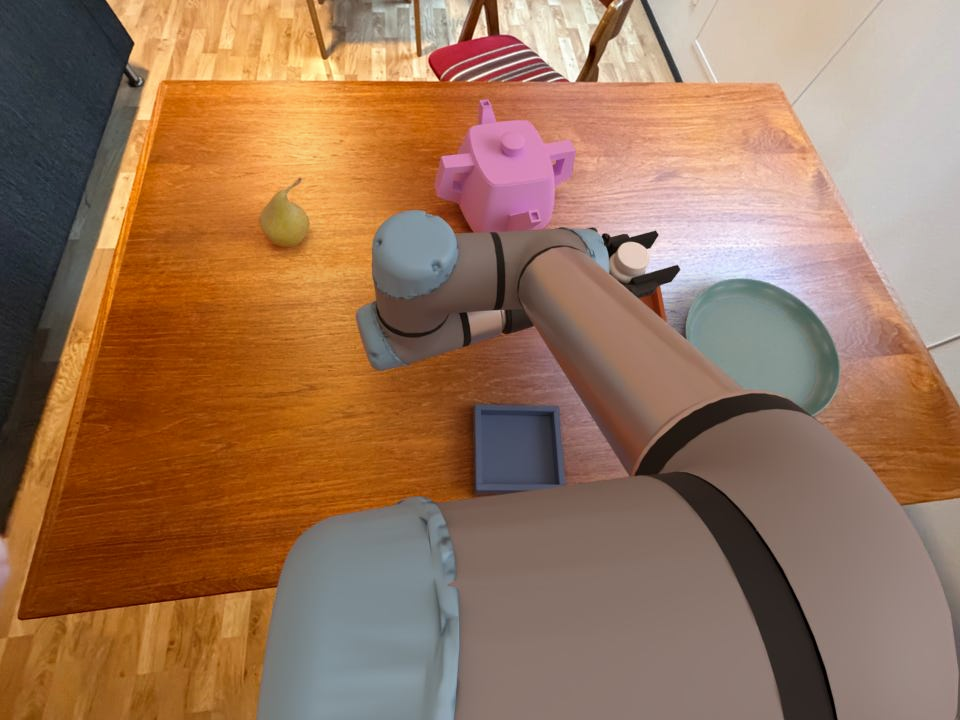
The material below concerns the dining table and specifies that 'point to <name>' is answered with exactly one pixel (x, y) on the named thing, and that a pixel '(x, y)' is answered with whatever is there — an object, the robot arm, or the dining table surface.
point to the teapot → (504, 174)
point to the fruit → (284, 220)
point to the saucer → (766, 341)
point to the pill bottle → (628, 262)
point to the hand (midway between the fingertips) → (663, 256)
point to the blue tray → (517, 448)
